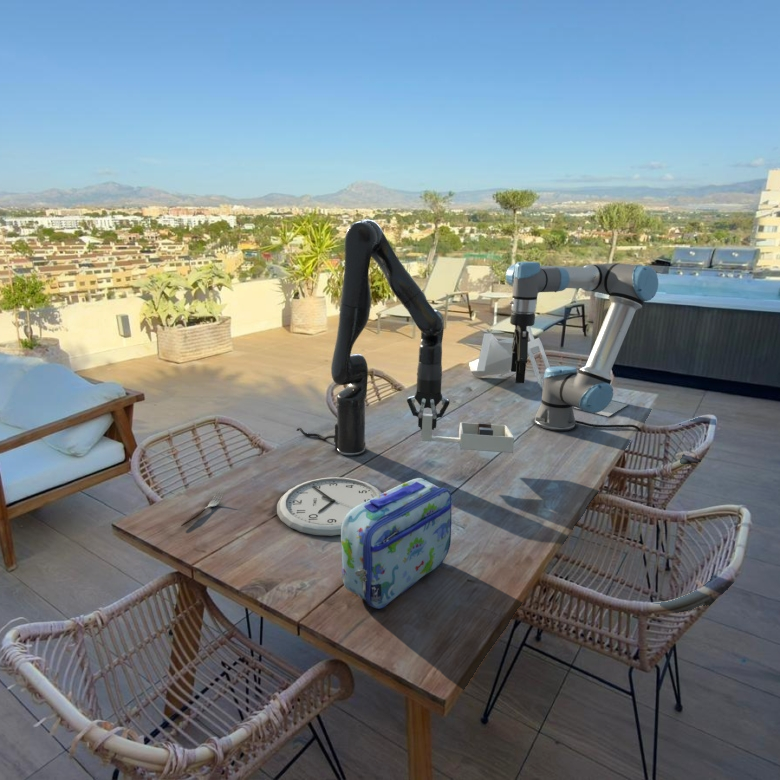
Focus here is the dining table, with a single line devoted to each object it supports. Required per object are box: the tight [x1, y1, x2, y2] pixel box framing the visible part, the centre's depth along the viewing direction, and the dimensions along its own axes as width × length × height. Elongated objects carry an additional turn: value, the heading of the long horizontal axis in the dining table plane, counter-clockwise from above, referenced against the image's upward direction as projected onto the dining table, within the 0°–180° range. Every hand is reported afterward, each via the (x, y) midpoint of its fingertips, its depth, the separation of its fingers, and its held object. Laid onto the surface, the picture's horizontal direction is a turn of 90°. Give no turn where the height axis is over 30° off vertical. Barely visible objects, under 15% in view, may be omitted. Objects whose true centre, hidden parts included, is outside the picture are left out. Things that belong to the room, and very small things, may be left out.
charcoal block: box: [479, 427, 493, 436], centre depth 158 cm, size 4×4×5 cm
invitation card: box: [573, 400, 628, 418], centre depth 226 cm, size 21×1×15 cm
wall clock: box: [276, 476, 383, 537], centre depth 143 cm, size 30×2×30 cm
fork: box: [180, 491, 225, 527], centre depth 138 cm, size 3×16×2 cm, turn 160°
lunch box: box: [340, 477, 452, 610], centre depth 110 cm, size 26×11×21 cm, turn 134°
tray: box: [420, 413, 515, 454], centre depth 163 cm, size 27×21×8 cm
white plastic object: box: [468, 326, 551, 390], centre depth 259 cm, size 37×45×31 cm
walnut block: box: [477, 421, 492, 435], centre depth 169 cm, size 4×4×5 cm
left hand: (427, 428), depth 165 cm, fingers closed on tray, 3 cm apart
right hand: (517, 377), depth 171 cm, fingers open, 13 cm apart
